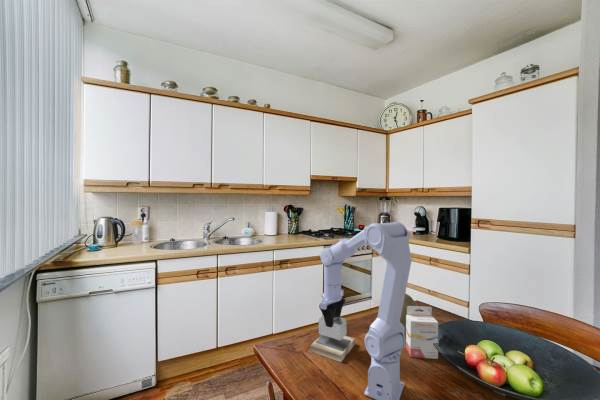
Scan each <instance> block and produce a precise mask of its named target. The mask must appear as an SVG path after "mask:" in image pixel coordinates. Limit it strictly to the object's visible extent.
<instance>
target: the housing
mask: <svg viewBox="0 0 600 400" xmlns="http://www.w3.org/2000/svg"><path fill="white" fill-rule="evenodd" d="M318 334H319V335H320V336H321V335H324V336H328V337H331V338H334V339H337V340H341V339H342V338H343V337H344V336H347V334H348V333H347V318H345V317H341V316H340V317H337V316H336V315H334V319H333V326H332V328H331V327H327V326H326V324H325V320H324V316H323V315H321V316H320V317H319V318H318Z"/></svg>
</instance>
